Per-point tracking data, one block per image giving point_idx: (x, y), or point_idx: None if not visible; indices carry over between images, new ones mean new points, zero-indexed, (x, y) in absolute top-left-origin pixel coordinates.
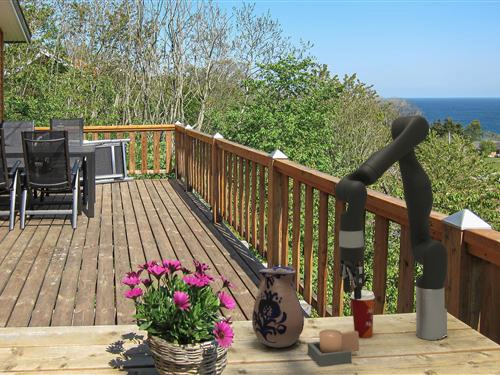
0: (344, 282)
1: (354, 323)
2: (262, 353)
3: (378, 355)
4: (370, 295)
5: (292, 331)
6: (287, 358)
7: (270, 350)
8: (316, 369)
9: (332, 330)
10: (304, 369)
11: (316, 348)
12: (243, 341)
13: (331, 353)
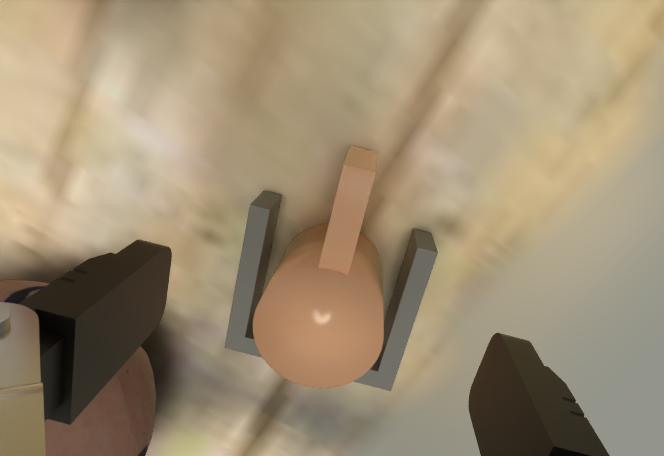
0: (83, 402)
1: None
2: (159, 446)
3: (433, 60)
4: None
5: (145, 411)
6: (247, 405)
7: None
8: (402, 382)
9: (283, 299)
10: (376, 414)
11: None
12: None
13: (399, 339)
